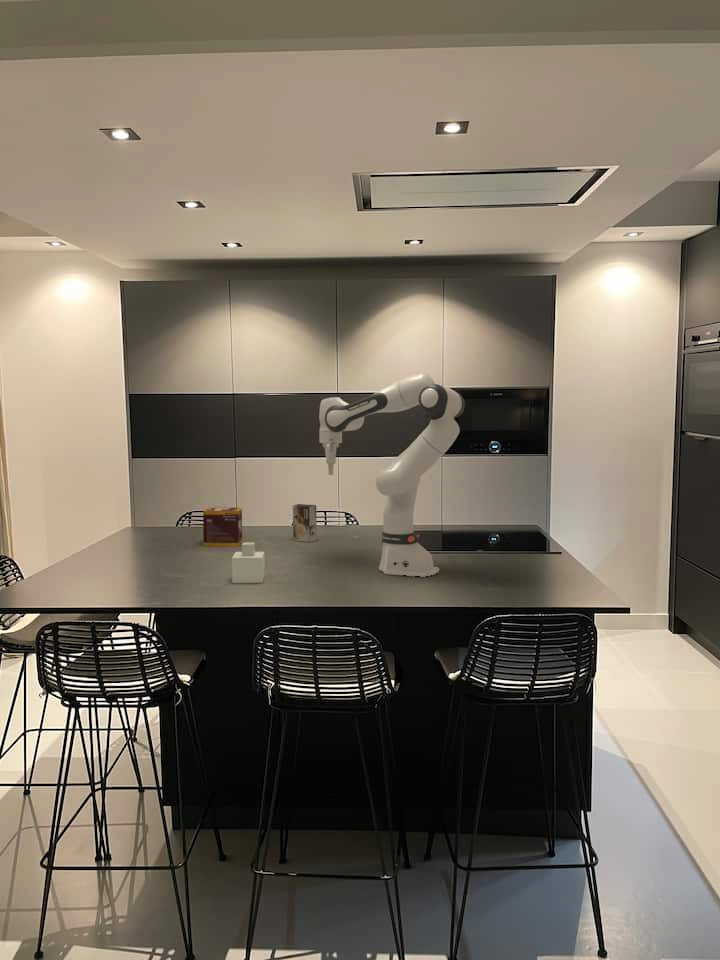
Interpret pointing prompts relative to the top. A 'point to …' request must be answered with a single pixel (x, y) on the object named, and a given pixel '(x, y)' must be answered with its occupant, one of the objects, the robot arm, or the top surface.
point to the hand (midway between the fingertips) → (330, 473)
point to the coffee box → (304, 523)
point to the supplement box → (222, 526)
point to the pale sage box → (248, 565)
